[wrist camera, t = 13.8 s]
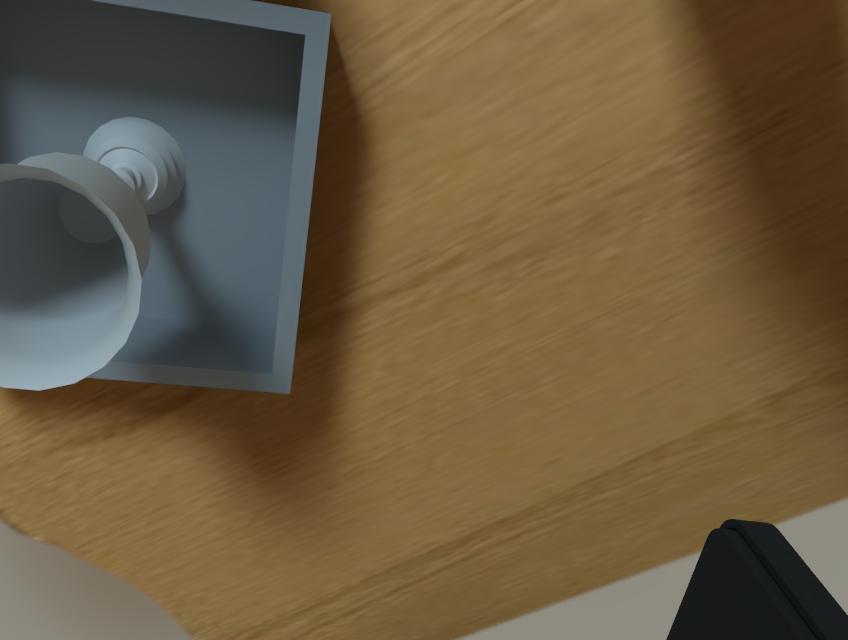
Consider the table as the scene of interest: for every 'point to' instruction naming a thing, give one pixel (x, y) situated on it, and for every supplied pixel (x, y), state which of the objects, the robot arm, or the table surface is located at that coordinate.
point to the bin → (189, 163)
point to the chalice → (79, 250)
